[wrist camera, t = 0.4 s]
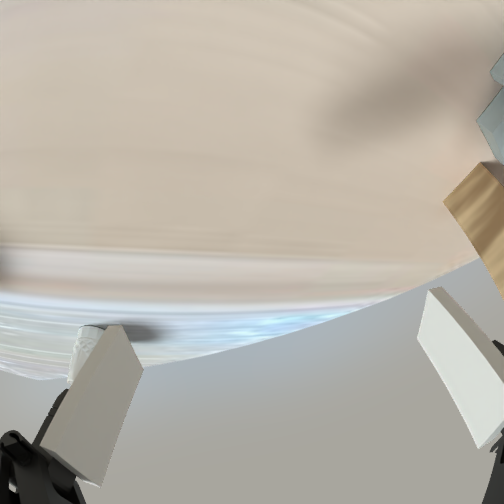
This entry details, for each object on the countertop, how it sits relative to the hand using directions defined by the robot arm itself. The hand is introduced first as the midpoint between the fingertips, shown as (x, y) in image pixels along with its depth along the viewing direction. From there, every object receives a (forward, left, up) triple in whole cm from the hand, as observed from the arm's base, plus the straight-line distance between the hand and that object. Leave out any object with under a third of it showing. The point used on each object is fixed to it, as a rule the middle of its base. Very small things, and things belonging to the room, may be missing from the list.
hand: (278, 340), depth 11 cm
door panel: (+6, +25, -15) cm, 30 cm away
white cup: (+27, -30, -15) cm, 43 cm away
